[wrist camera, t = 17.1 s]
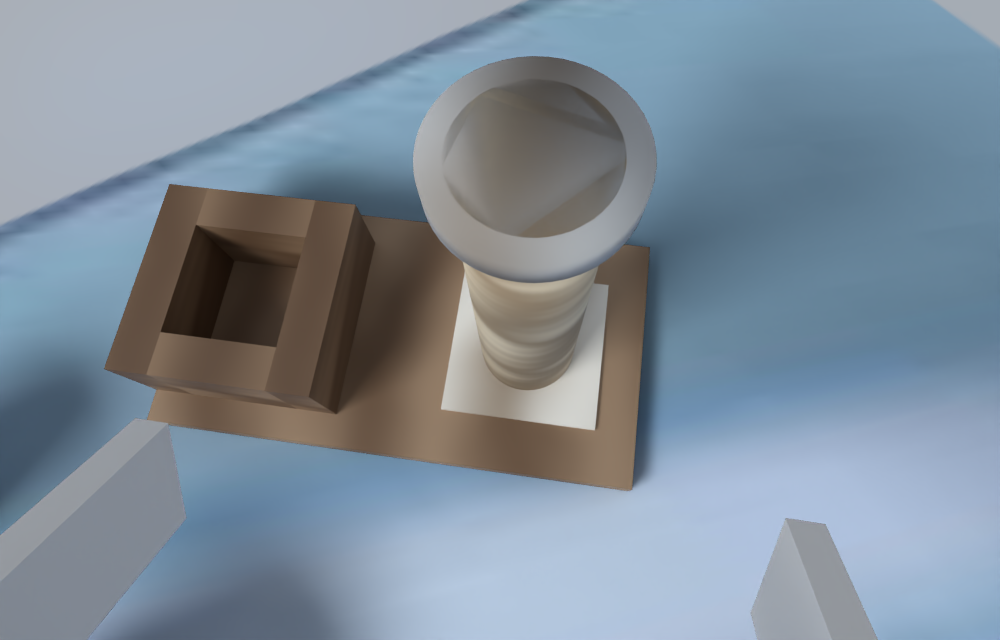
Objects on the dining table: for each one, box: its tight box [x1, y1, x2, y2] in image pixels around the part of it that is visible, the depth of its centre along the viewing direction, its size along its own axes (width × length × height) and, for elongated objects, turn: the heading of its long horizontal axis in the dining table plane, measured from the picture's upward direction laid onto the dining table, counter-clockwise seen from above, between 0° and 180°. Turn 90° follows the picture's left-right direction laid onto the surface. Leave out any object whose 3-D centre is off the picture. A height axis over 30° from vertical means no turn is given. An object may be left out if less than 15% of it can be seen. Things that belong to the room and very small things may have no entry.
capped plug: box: [413, 56, 657, 390], centre depth 22 cm, size 6×6×16 cm
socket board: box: [104, 184, 650, 491], centre depth 29 cm, size 23×12×5 cm, turn 82°
